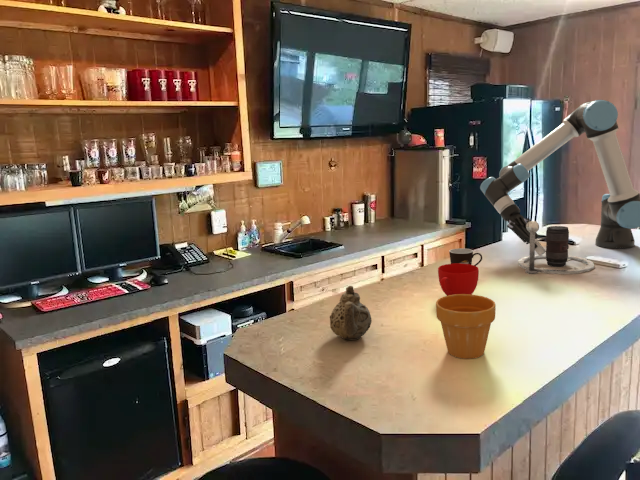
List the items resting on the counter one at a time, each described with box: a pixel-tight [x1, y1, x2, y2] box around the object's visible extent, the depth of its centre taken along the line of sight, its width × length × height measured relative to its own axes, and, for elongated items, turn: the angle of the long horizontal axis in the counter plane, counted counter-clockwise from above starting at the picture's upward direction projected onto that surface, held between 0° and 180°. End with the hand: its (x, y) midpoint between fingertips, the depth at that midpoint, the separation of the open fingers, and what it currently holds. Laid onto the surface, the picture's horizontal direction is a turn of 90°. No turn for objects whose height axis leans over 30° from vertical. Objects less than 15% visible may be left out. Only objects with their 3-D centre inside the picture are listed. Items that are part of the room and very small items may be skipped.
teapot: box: [329, 285, 373, 340], centre depth 144 cm, size 21×12×15 cm, turn 178°
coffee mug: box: [448, 247, 483, 267], centre depth 197 cm, size 12×9×10 cm
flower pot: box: [435, 294, 497, 360], centre depth 131 cm, size 14×14×13 cm
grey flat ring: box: [517, 253, 595, 275], centre depth 207 cm, size 27×27×1 cm
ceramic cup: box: [437, 263, 480, 296], centre depth 173 cm, size 13×17×10 cm
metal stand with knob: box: [524, 220, 547, 275], centre depth 199 cm, size 11×4×20 cm, turn 125°
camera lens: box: [545, 225, 570, 268], centre depth 206 cm, size 8×8×15 cm
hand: (542, 253), depth 211 cm, fingers closed
